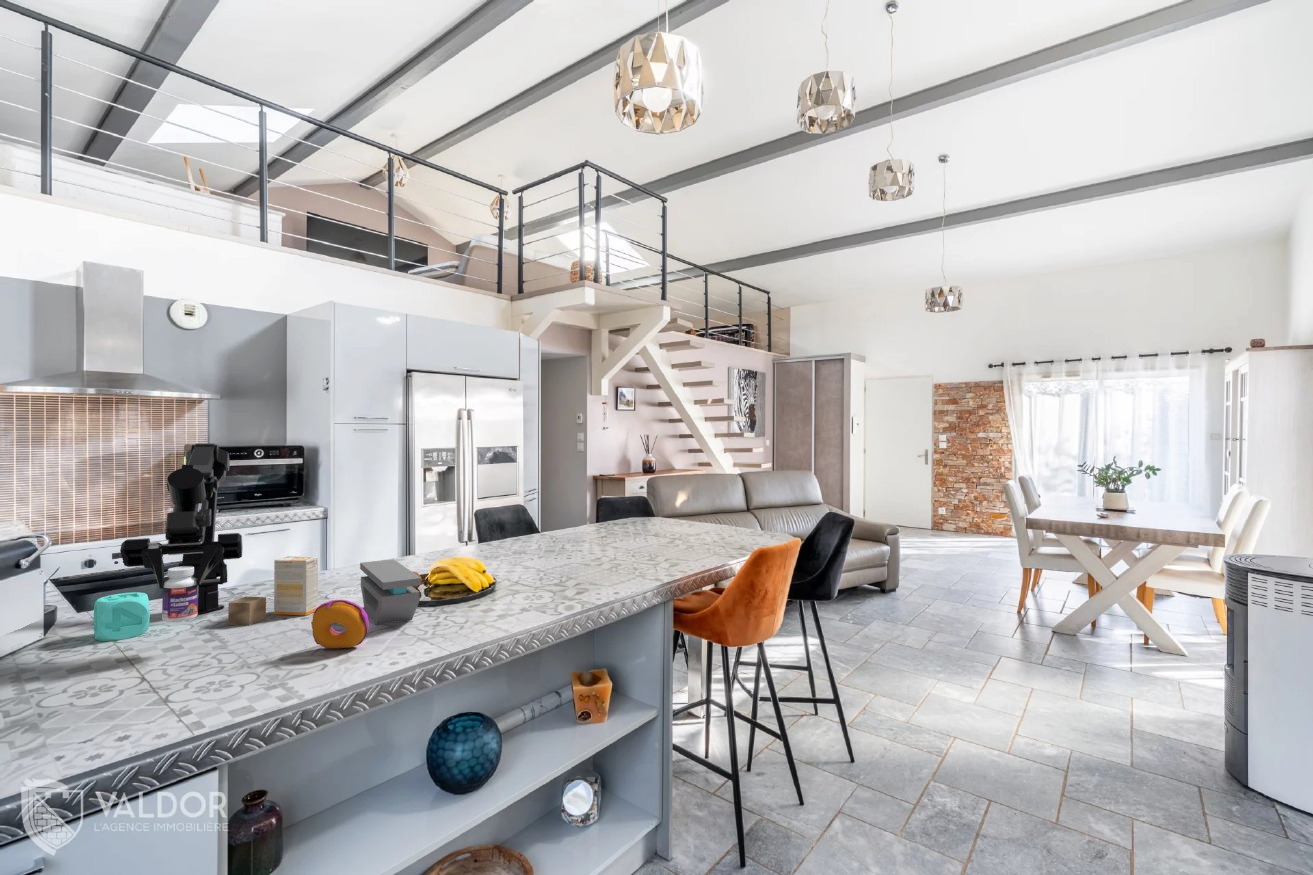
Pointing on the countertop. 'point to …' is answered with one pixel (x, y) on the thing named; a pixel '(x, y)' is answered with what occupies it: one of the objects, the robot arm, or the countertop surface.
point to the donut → (341, 614)
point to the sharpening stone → (389, 591)
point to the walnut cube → (246, 610)
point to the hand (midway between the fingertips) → (179, 585)
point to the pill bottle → (180, 595)
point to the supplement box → (295, 585)
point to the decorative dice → (121, 616)
